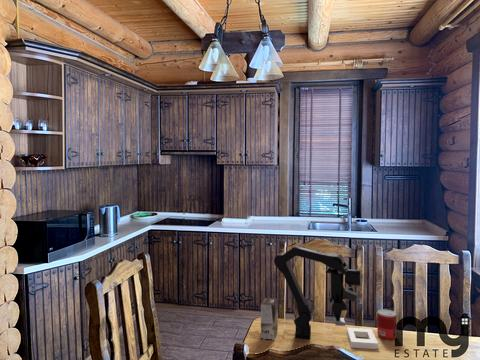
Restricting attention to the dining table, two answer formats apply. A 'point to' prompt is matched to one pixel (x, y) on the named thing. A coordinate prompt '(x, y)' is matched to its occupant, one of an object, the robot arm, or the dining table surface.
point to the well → (362, 343)
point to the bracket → (339, 322)
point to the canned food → (386, 324)
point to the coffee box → (269, 318)
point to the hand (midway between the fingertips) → (337, 318)
